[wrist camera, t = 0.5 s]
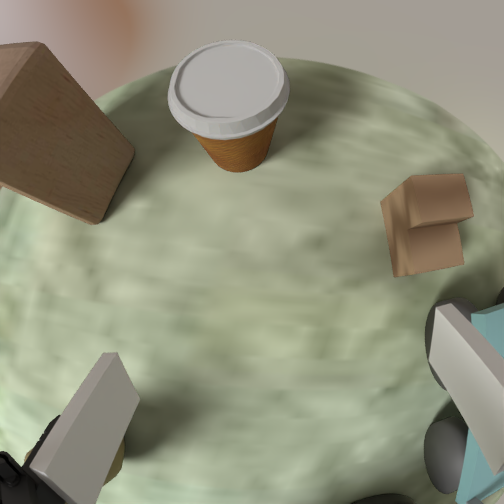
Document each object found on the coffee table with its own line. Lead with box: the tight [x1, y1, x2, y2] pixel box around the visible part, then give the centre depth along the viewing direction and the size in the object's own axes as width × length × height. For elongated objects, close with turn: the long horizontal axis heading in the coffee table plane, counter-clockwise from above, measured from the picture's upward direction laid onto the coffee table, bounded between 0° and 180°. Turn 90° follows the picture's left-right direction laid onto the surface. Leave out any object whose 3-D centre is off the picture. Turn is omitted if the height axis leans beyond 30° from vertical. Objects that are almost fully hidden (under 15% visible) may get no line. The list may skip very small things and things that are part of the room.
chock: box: [380, 174, 474, 277], centre depth 26 cm, size 8×6×8 cm
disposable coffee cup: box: [168, 40, 290, 172], centre depth 26 cm, size 10×10×12 cm
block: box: [0, 42, 135, 225], centre depth 23 cm, size 10×10×20 cm
